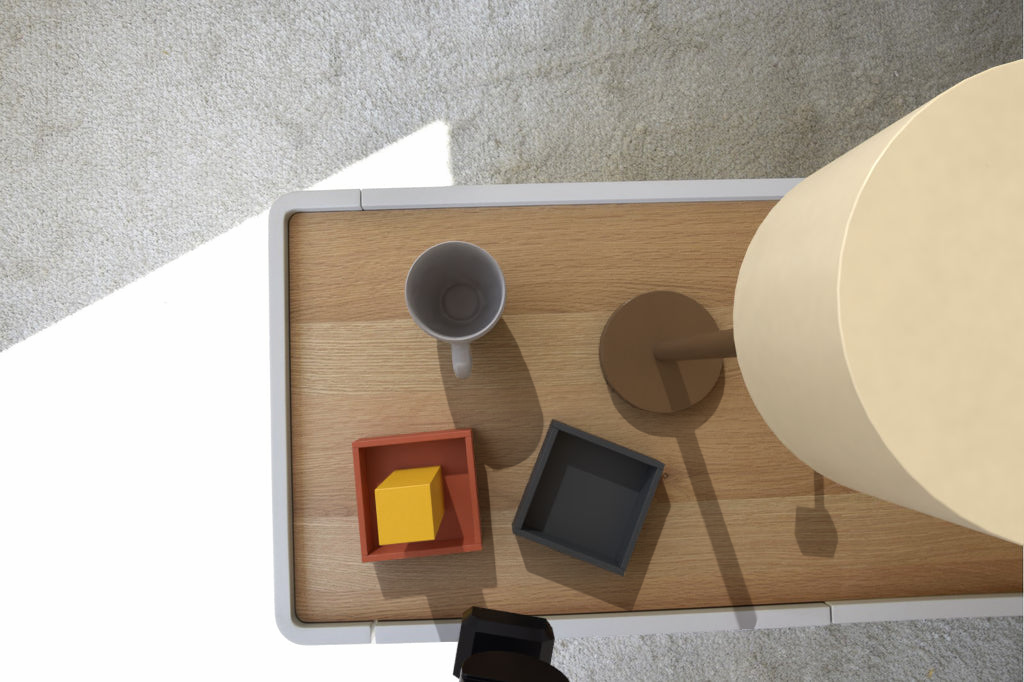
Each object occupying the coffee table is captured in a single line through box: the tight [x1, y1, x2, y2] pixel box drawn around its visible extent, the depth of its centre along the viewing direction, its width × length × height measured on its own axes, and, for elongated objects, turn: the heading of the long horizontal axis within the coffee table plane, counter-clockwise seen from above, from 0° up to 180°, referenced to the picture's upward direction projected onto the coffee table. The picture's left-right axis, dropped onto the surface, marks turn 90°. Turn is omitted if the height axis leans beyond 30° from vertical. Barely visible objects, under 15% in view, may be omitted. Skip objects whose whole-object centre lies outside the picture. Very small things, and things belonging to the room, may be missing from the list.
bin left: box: [351, 426, 484, 564], centre depth 63 cm, size 11×11×4 cm
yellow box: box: [375, 465, 445, 545], centre depth 59 cm, size 4×4×11 cm
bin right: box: [511, 418, 666, 577], centre depth 63 cm, size 11×11×4 cm
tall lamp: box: [598, 58, 1024, 547], centre depth 42 cm, size 14×14×48 cm
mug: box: [404, 240, 508, 380], centre depth 61 cm, size 12×9×10 cm
